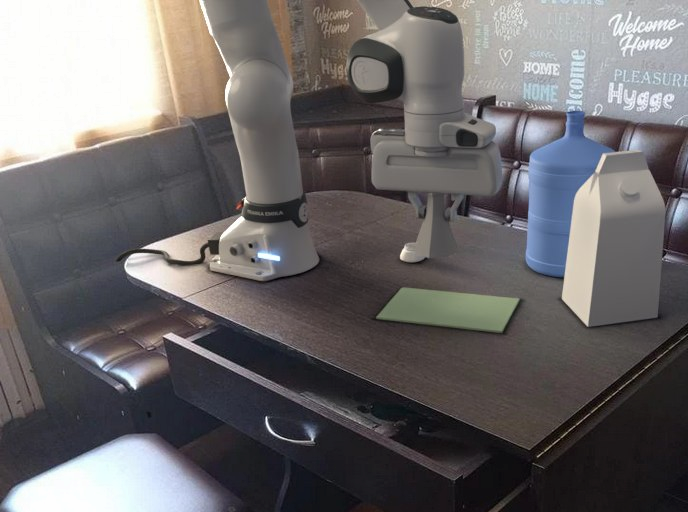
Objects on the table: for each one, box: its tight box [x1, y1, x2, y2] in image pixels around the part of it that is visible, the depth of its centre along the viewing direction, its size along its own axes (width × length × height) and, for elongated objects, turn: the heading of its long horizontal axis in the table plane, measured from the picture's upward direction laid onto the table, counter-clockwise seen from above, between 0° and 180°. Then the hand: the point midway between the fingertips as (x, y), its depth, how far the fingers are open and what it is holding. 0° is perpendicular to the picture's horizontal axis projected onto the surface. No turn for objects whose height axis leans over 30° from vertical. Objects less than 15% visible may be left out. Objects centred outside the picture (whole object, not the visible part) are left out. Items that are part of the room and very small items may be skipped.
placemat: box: [375, 286, 521, 334], centre depth 134 cm, size 22×13×1 cm, turn 69°
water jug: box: [525, 110, 616, 279], centre depth 141 cm, size 16×16×28 cm
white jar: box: [399, 242, 426, 263], centre depth 154 cm, size 5×3×5 cm
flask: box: [414, 192, 460, 259], centre depth 121 cm, size 7×7×10 cm
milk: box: [561, 149, 666, 328], centre depth 124 cm, size 12×12×26 cm
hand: (436, 219), depth 121 cm, fingers closed on flask, 3 cm apart
